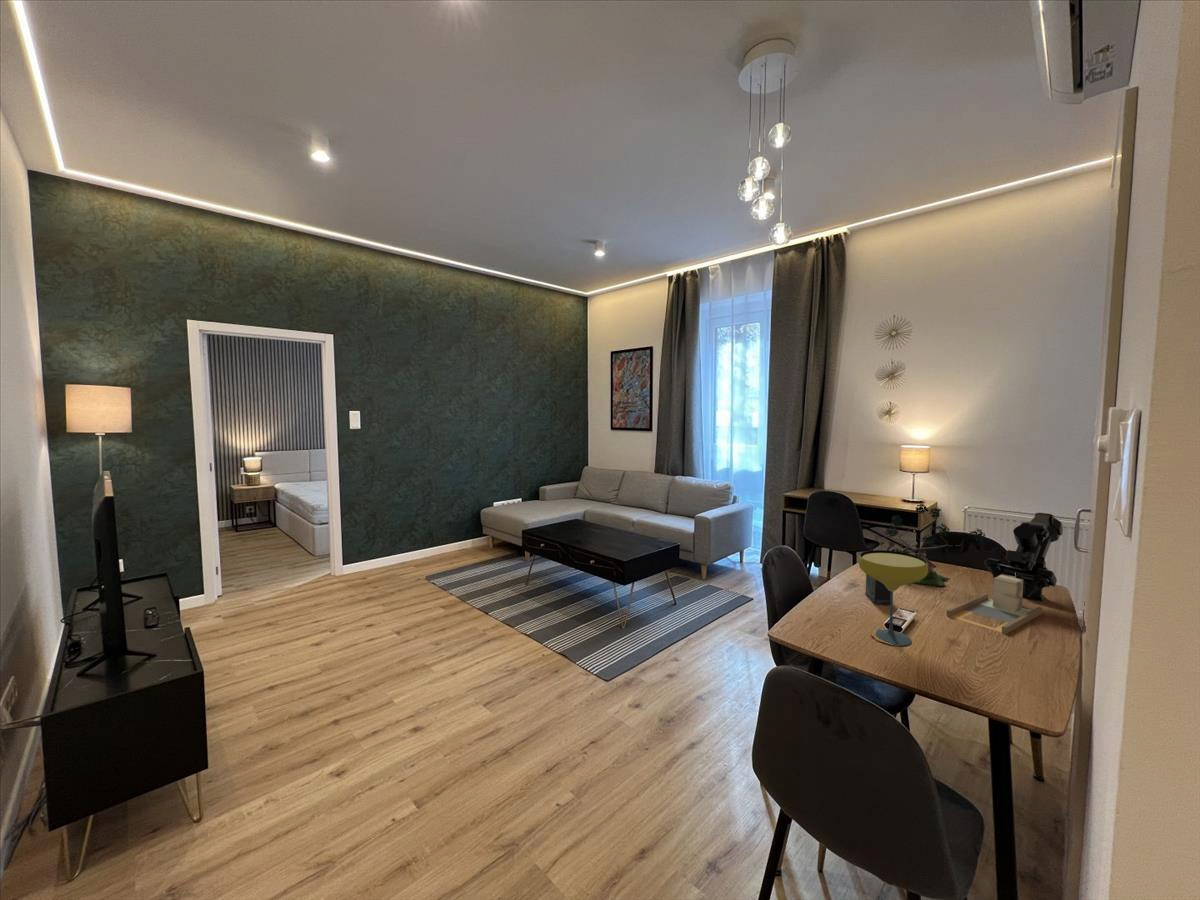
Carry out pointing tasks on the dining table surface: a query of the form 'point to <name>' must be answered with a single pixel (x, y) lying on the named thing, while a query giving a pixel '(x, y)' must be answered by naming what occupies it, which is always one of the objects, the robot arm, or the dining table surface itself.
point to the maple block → (1008, 593)
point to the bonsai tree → (931, 574)
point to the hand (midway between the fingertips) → (1010, 592)
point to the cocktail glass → (893, 580)
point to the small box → (877, 591)
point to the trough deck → (993, 613)
